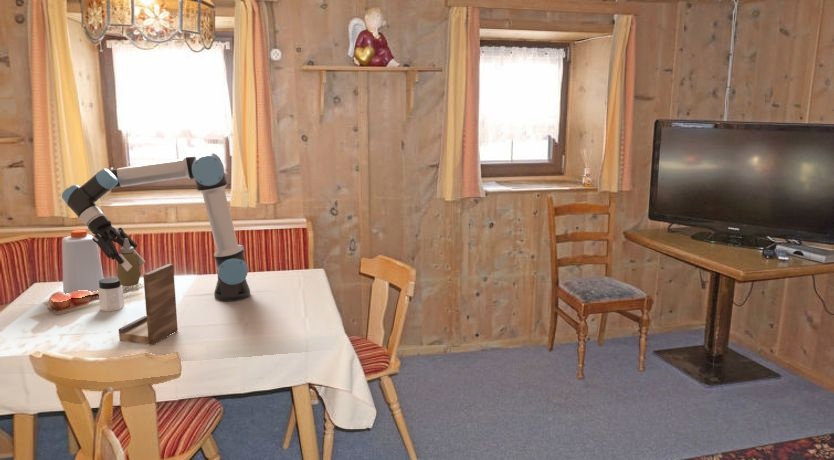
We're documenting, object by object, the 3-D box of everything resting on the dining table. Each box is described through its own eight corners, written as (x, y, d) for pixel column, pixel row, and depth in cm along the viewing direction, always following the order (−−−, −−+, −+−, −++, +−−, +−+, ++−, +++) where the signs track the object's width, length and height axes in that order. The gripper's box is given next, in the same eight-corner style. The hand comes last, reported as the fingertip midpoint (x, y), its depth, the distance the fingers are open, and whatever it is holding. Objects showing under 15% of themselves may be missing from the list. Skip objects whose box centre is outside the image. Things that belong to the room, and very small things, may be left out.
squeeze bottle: (123, 281, 236) (119, 235, 232) (144, 281, 237) (141, 236, 233) (114, 287, 228) (110, 240, 225) (136, 287, 229) (133, 241, 225)
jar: (101, 312, 247) (98, 284, 244) (99, 306, 254) (96, 279, 251) (125, 309, 252) (123, 281, 249) (122, 303, 259) (120, 276, 256)
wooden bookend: (177, 331, 230) (173, 264, 224) (153, 345, 217) (148, 274, 211) (145, 327, 233) (139, 261, 228) (119, 340, 220) (113, 271, 214)
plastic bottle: (98, 285, 281) (93, 225, 275) (108, 293, 270) (102, 231, 264) (61, 291, 272) (54, 230, 266) (69, 300, 261) (63, 236, 255)
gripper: (109, 222, 241) (148, 265, 241) (70, 232, 222) (112, 279, 222) (119, 210, 238) (158, 254, 238) (81, 219, 220) (123, 267, 220)
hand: (136, 266), depth 230 cm, fingers closed on squeeze bottle, 6 cm apart
